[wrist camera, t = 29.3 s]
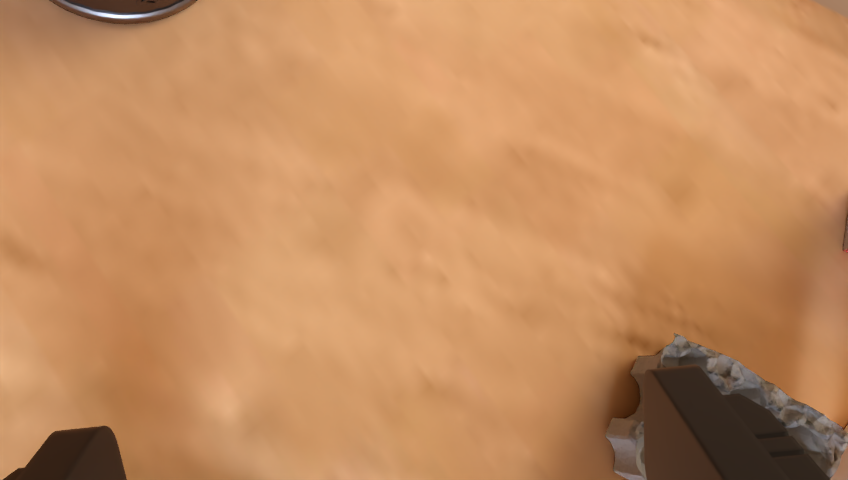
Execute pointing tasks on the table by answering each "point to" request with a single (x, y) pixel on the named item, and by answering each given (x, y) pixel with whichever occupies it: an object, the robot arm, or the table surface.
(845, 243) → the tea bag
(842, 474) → the honey pot
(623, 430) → the egg carton
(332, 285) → the table surface
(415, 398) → the table surface
